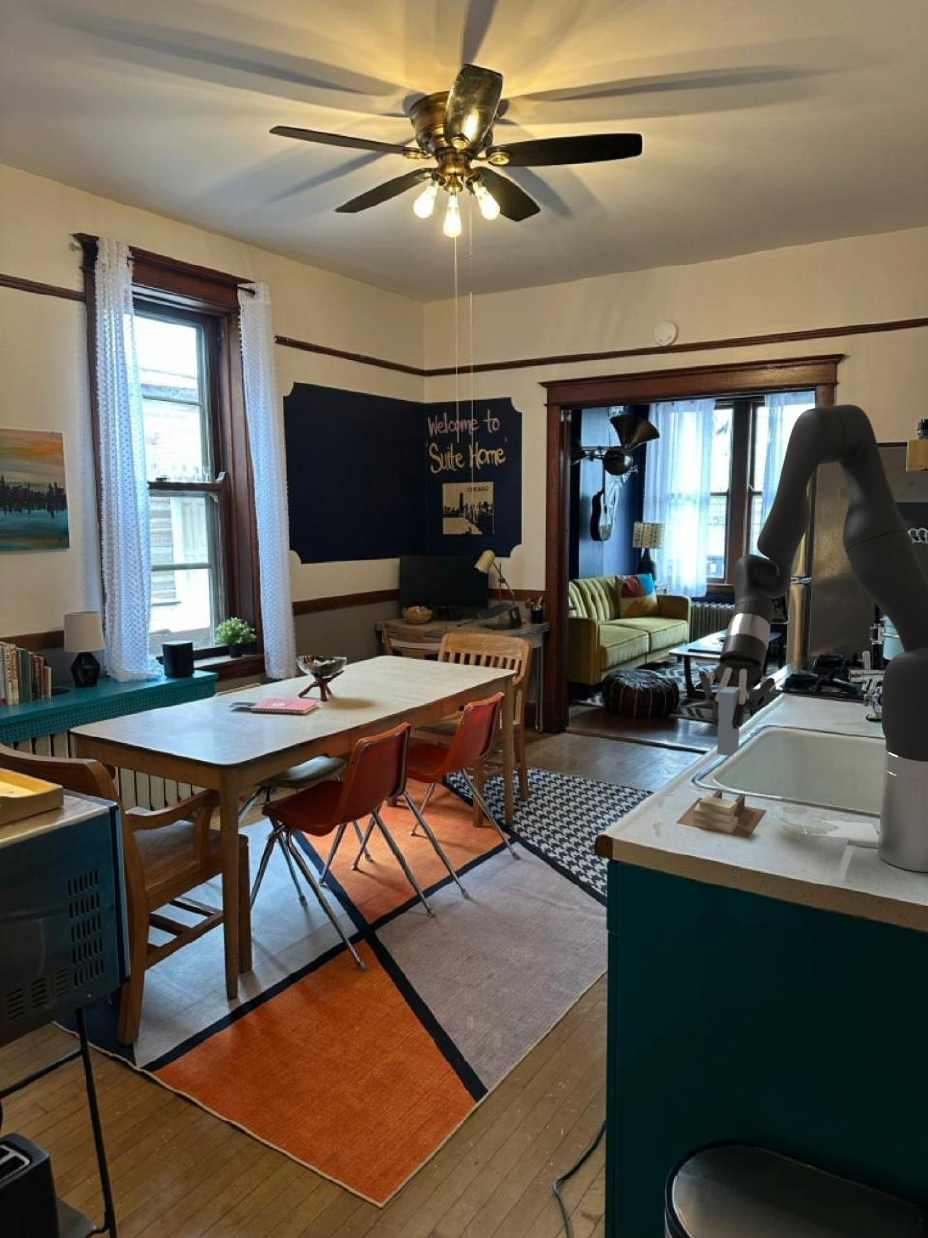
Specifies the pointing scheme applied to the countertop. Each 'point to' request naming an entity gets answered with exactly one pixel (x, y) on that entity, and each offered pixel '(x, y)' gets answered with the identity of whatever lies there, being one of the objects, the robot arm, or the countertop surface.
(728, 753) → the slate-blue block
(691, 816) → the walnut stand
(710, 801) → the birch offcut stack
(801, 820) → the countertop surface
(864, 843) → the external hard drive
